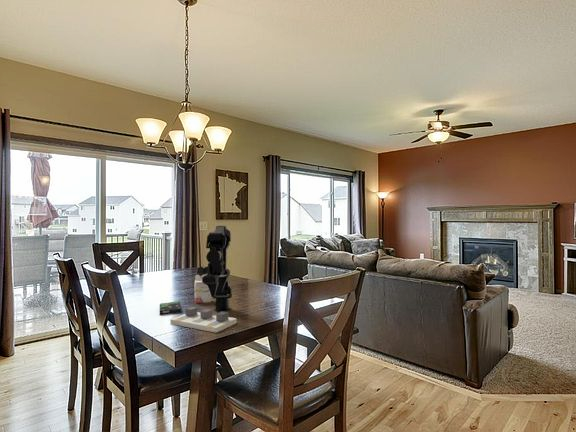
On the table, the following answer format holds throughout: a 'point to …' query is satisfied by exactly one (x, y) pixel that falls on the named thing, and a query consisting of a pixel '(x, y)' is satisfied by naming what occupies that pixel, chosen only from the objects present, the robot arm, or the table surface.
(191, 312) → the tab
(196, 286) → the ink cartridge box
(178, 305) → the disk drive
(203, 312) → the tab middle
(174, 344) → the table surface
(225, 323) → the switch panel
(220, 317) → the tab
